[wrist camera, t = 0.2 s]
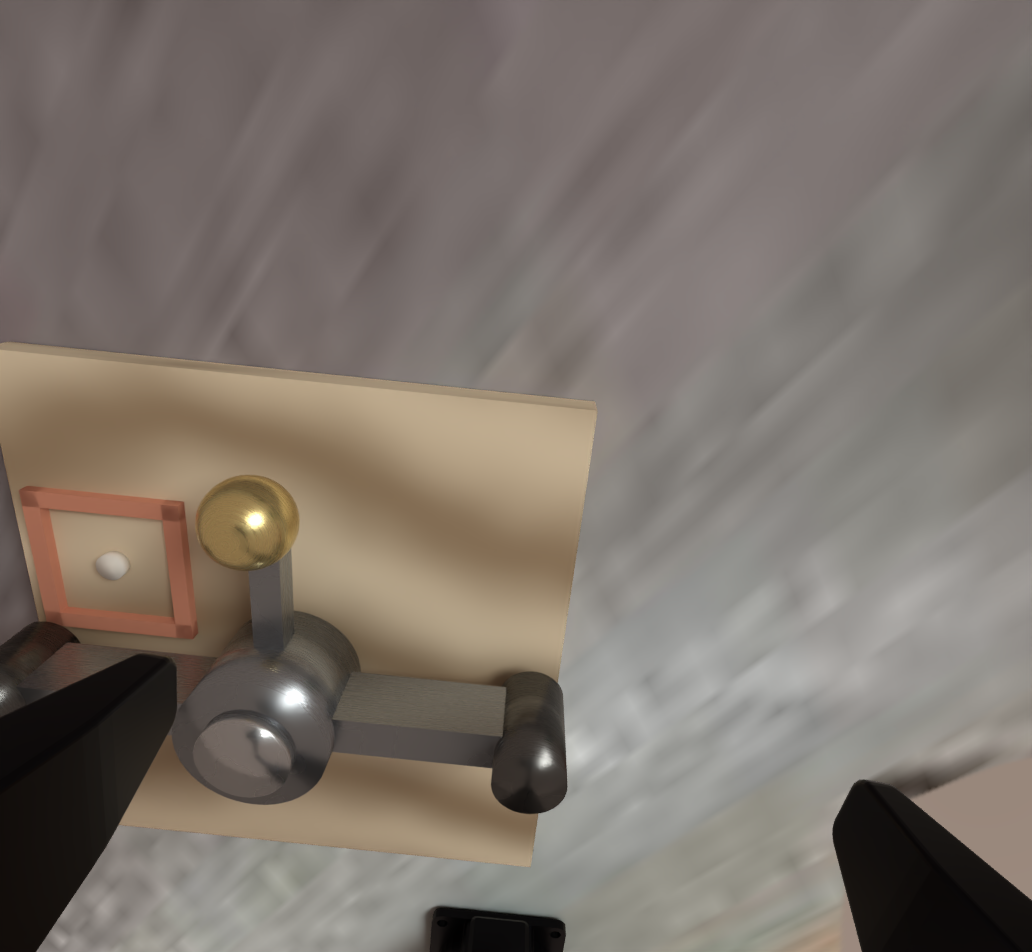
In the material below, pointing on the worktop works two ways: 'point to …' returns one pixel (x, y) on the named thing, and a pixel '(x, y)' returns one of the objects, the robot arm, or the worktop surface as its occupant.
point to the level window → (110, 560)
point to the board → (320, 554)
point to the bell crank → (307, 684)
